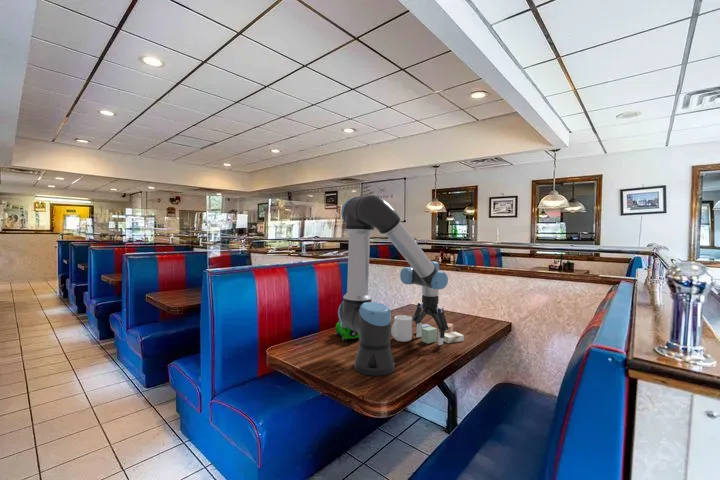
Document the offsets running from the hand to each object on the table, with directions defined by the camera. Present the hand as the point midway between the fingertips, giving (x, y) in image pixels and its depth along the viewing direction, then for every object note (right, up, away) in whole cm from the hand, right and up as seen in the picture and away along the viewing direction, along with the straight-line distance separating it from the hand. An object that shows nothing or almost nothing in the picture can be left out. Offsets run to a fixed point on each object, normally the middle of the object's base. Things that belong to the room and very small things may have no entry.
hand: (429, 340), depth 160 cm
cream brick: (+11, -1, +2) cm, 11 cm away
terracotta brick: (+12, 0, +14) cm, 18 cm away
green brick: (0, 0, 0) cm, 0 cm away
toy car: (-38, 0, +3) cm, 38 cm away
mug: (-13, 0, +1) cm, 14 cm away
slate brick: (0, 0, +12) cm, 12 cm away
